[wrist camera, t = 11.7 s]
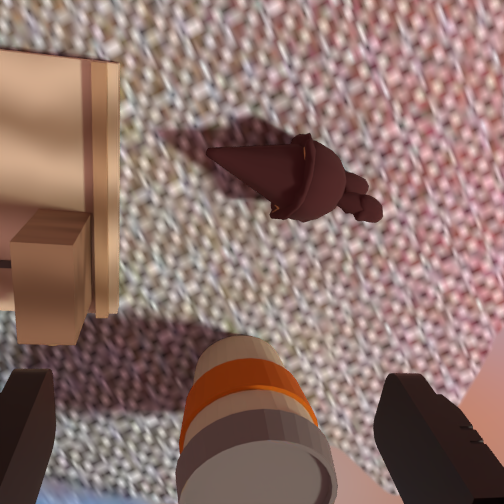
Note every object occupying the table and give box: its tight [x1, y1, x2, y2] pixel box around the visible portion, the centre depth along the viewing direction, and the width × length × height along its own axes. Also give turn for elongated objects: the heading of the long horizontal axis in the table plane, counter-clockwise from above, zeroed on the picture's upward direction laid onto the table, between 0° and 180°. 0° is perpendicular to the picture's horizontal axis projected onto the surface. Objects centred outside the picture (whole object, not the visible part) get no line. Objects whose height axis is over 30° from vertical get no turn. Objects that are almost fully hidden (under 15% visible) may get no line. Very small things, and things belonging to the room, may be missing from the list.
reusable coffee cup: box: [175, 335, 338, 504], centre depth 42 cm, size 13×13×15 cm
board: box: [0, 49, 120, 318], centre depth 37 cm, size 21×14×2 cm, turn 173°
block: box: [10, 209, 92, 346], centre depth 36 cm, size 9×4×7 cm, turn 173°
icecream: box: [206, 133, 383, 223], centre depth 37 cm, size 7×7×15 cm
